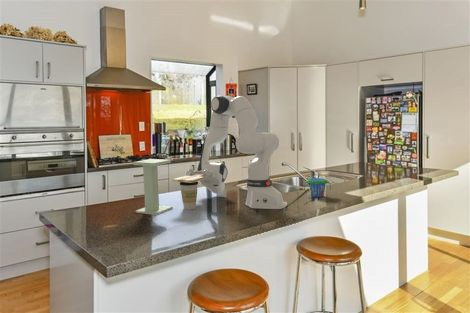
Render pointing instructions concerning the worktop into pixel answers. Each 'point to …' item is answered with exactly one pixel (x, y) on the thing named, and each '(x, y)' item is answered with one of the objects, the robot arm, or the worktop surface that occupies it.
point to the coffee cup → (189, 194)
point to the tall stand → (152, 186)
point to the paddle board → (190, 178)
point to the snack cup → (317, 186)
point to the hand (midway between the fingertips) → (197, 170)
